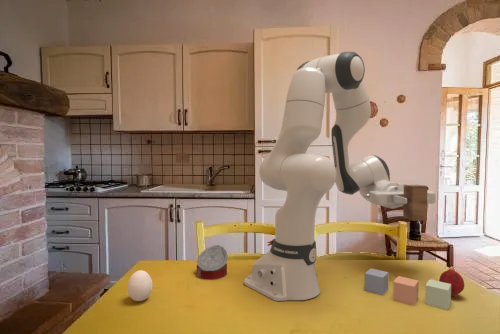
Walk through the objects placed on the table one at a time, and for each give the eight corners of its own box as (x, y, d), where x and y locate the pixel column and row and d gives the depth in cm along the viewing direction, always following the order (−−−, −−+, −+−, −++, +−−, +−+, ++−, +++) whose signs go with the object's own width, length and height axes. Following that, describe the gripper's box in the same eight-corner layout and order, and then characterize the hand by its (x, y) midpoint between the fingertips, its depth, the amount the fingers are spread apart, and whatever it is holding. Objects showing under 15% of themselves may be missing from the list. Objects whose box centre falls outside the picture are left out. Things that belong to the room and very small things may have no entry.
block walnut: (403, 217, 95) (403, 184, 95) (416, 217, 96) (417, 184, 96) (412, 220, 91) (413, 186, 91) (426, 220, 91) (427, 186, 91)
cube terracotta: (393, 300, 83) (393, 281, 83) (398, 293, 87) (398, 276, 87) (413, 305, 80) (414, 286, 80) (418, 298, 84) (418, 280, 84)
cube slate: (364, 290, 89) (364, 273, 89) (370, 284, 93) (370, 268, 93) (382, 295, 86) (383, 277, 86) (388, 289, 90) (388, 272, 90)
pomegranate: (468, 301, 82) (469, 271, 82) (444, 299, 83) (444, 270, 83) (458, 292, 88) (458, 264, 87) (435, 290, 89) (436, 262, 89)
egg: (138, 308, 79) (137, 277, 79) (122, 302, 82) (121, 272, 82) (157, 298, 84) (157, 269, 84) (141, 292, 88) (141, 265, 87)
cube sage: (425, 304, 81) (425, 285, 81) (429, 297, 85) (429, 279, 85) (447, 310, 78) (448, 290, 78) (450, 302, 82) (451, 284, 82)
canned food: (227, 286, 103) (239, 263, 100) (202, 292, 96) (212, 267, 93) (211, 262, 111) (221, 240, 107) (186, 266, 104) (196, 242, 101)
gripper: (361, 186, 105) (384, 190, 91) (418, 185, 107) (448, 189, 93) (361, 204, 105) (383, 212, 91) (418, 203, 107) (448, 210, 94)
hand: (417, 200), depth 92 cm, fingers closed on block walnut, 4 cm apart
